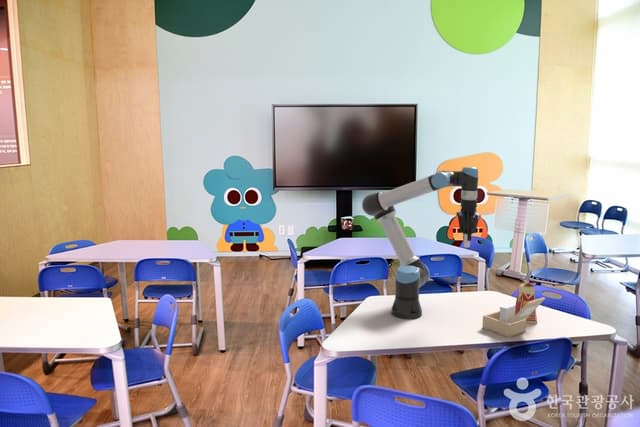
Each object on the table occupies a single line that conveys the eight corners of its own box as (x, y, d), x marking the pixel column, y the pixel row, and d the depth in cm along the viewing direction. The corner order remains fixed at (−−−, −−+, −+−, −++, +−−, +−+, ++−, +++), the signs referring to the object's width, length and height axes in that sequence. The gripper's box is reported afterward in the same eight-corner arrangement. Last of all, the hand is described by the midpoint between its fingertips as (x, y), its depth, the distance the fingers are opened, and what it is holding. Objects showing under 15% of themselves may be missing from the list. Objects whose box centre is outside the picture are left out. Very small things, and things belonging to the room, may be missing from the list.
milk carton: (537, 323, 231) (540, 282, 228) (516, 321, 232) (519, 281, 230) (533, 316, 239) (535, 277, 237) (513, 315, 241) (515, 276, 239)
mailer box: (482, 328, 224) (483, 303, 222) (498, 323, 231) (499, 299, 229) (509, 337, 212) (510, 312, 211) (525, 332, 219) (526, 307, 218)
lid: (527, 301, 204) (529, 303, 203) (543, 297, 210) (545, 298, 210) (509, 322, 212) (510, 324, 211) (525, 317, 218) (526, 318, 218)
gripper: (453, 198, 238) (451, 245, 241) (475, 200, 228) (472, 250, 231) (463, 197, 242) (461, 244, 246) (485, 199, 232) (482, 248, 235)
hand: (466, 246), depth 238 cm, fingers closed
